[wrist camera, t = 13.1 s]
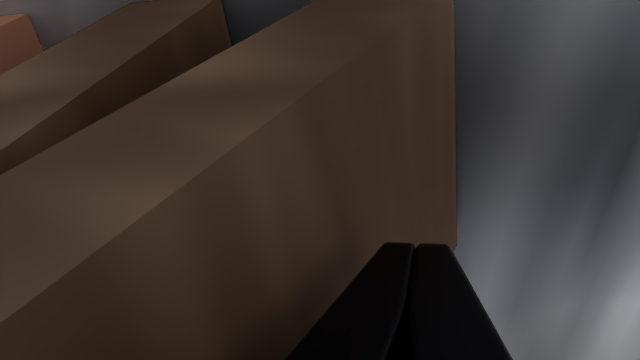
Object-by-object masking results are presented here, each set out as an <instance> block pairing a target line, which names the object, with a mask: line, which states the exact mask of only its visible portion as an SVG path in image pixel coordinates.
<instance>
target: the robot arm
mask: <svg viewBox="0 0 640 360" xmlns="http://www.w3.org/2000/svg"><path fill="white" fill-rule="evenodd" d="M285 360H513V359H512V357H511V356H510V354H509V352H508V350H507V348H506V347H505V345H504V343H503V341H502V339H501V338H500V336H499V334H498V332H497V330H496V329H495V327H494V325H493V323H492V321H491V320H490V318H489V316H488V314H487V312H486V311H485V309H484V307H483V305H482V303H481V302H480V300H479V298H478V296H477V294H476V293H475V291H474V289H473V287H472V285H471V284H470V282H469V280H468V278H467V277H466V275H465V273H464V271H463V269H462V268H461V266H460V264H459V262H458V260H457V259H456V257H455V255H454V253H453V251H452V250H451V248H450V247H449V246H448V245H447V244H436V243H420V244H418V246H417V247H415V245H414V244H413V243H405V242H386V243H384V244H383V245H382V246H381V247H380V248H379V249H378V251H377V252H376V253H375V254H374V255H373V256H372V258H371V259H370V260H369V261H368V262H367V263H366V265H365V266H364V267H363V268H362V269H361V271H360V272H359V273H358V274H357V275H356V276H355V278H354V279H353V280H352V281H351V282H350V283H349V285H348V286H347V287H346V288H345V289H344V290H343V292H342V293H341V294H340V295H339V296H338V298H337V299H336V300H335V301H334V302H333V303H332V305H331V306H330V307H329V308H328V309H327V310H326V312H325V313H324V314H323V315H322V316H321V317H320V319H319V320H318V321H317V322H316V323H315V325H314V326H313V327H312V328H311V329H310V330H309V332H308V333H307V334H306V335H305V336H304V337H303V339H302V340H301V341H300V342H299V343H298V344H297V346H296V347H295V348H294V349H293V350H292V352H291V353H290V354H289V355H288V356H287V357H286V359H285Z"/></svg>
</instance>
